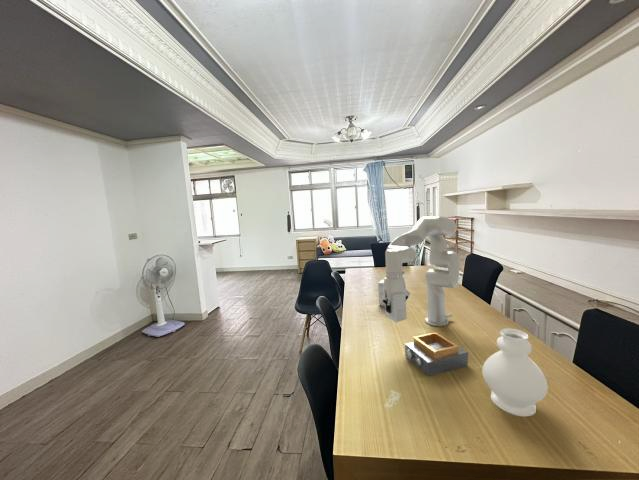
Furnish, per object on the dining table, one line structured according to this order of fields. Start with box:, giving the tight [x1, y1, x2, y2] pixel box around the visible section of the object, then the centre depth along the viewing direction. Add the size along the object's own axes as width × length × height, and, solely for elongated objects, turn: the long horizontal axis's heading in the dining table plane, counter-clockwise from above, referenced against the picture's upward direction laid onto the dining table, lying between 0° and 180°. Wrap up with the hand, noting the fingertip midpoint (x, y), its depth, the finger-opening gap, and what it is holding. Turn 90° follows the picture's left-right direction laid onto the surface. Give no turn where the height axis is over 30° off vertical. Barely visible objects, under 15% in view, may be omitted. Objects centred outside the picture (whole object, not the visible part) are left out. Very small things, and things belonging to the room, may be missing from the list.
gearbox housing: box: [404, 331, 469, 377], centre depth 117 cm, size 21×16×9 cm
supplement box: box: [377, 279, 385, 307], centre depth 187 cm, size 10×9×17 cm
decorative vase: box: [481, 328, 548, 417], centre depth 90 cm, size 18×18×25 cm
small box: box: [384, 293, 408, 323], centre depth 127 cm, size 8×6×13 cm
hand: (395, 310), depth 127 cm, fingers closed on small box, 7 cm apart
